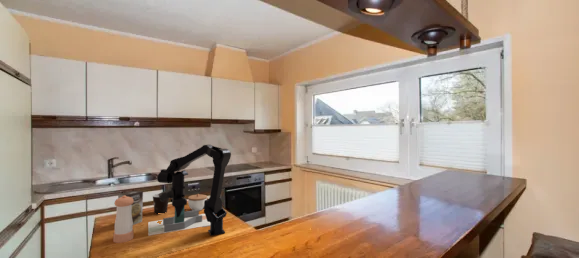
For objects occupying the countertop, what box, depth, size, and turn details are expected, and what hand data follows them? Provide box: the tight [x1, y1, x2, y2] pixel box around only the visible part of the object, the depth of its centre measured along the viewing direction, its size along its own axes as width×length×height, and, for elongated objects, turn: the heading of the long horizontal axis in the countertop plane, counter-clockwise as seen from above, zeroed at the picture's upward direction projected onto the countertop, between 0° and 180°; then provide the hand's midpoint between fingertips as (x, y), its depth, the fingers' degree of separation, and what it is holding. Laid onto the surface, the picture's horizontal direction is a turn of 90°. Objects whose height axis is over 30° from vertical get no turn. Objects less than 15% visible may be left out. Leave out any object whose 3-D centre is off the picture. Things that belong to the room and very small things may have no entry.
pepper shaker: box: [112, 195, 134, 244], centre depth 108 cm, size 7×7×19 cm
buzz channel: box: [147, 210, 210, 236], centre depth 128 cm, size 19×32×4 cm, turn 120°
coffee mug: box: [152, 193, 170, 215], centre depth 143 cm, size 12×9×10 cm
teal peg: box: [174, 207, 185, 223], centre depth 124 cm, size 4×4×10 cm
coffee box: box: [117, 190, 144, 226], centre depth 126 cm, size 9×6×16 cm
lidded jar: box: [187, 193, 208, 212], centre depth 151 cm, size 11×11×9 cm
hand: (177, 215), depth 124 cm, fingers closed on teal peg, 4 cm apart
